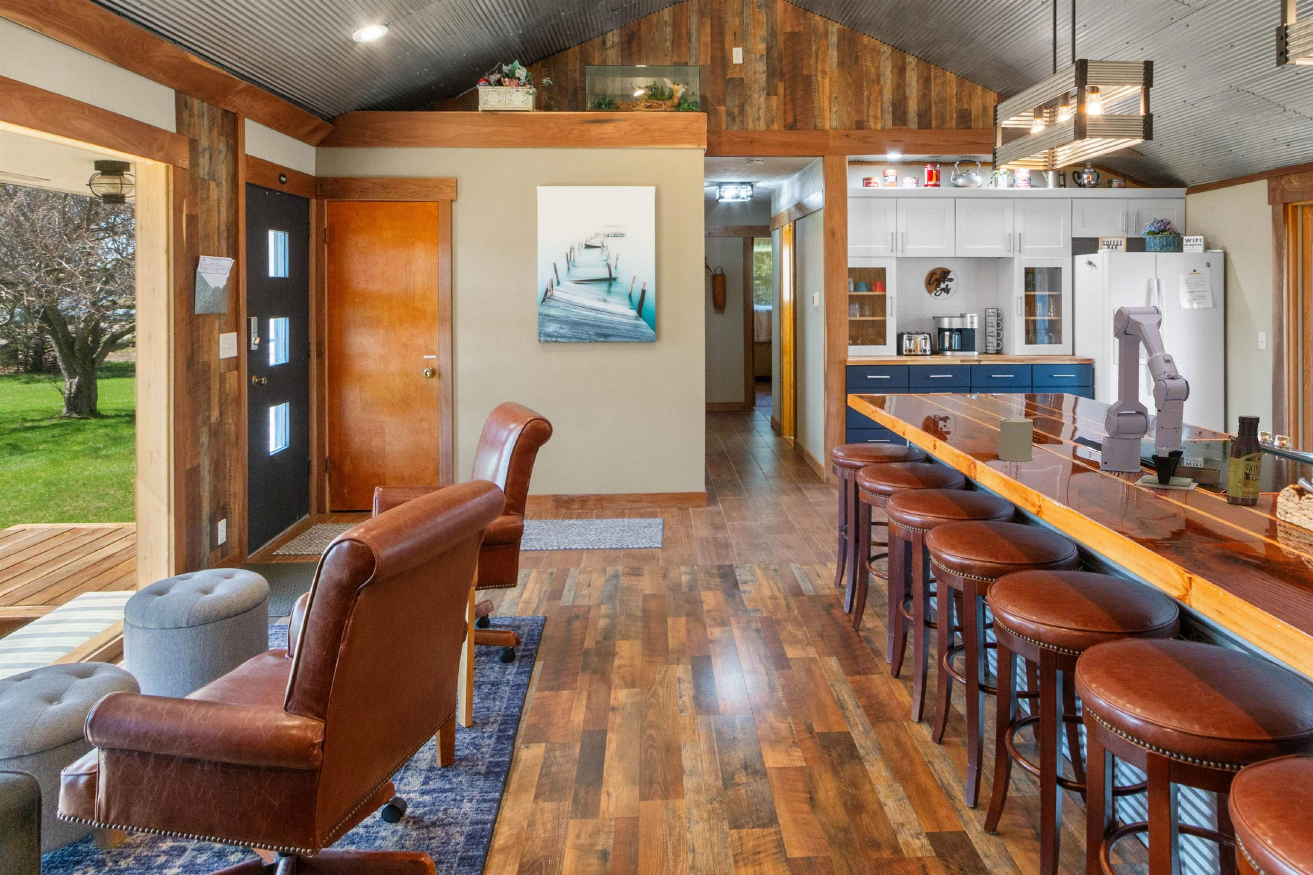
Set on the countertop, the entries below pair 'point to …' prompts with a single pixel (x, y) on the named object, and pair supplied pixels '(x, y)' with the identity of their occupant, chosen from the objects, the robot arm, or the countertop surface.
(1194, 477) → the walnut box
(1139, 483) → the felt mat
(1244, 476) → the sauce bottle
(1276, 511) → the countertop surface
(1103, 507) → the countertop surface
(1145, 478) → the lid
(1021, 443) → the can
